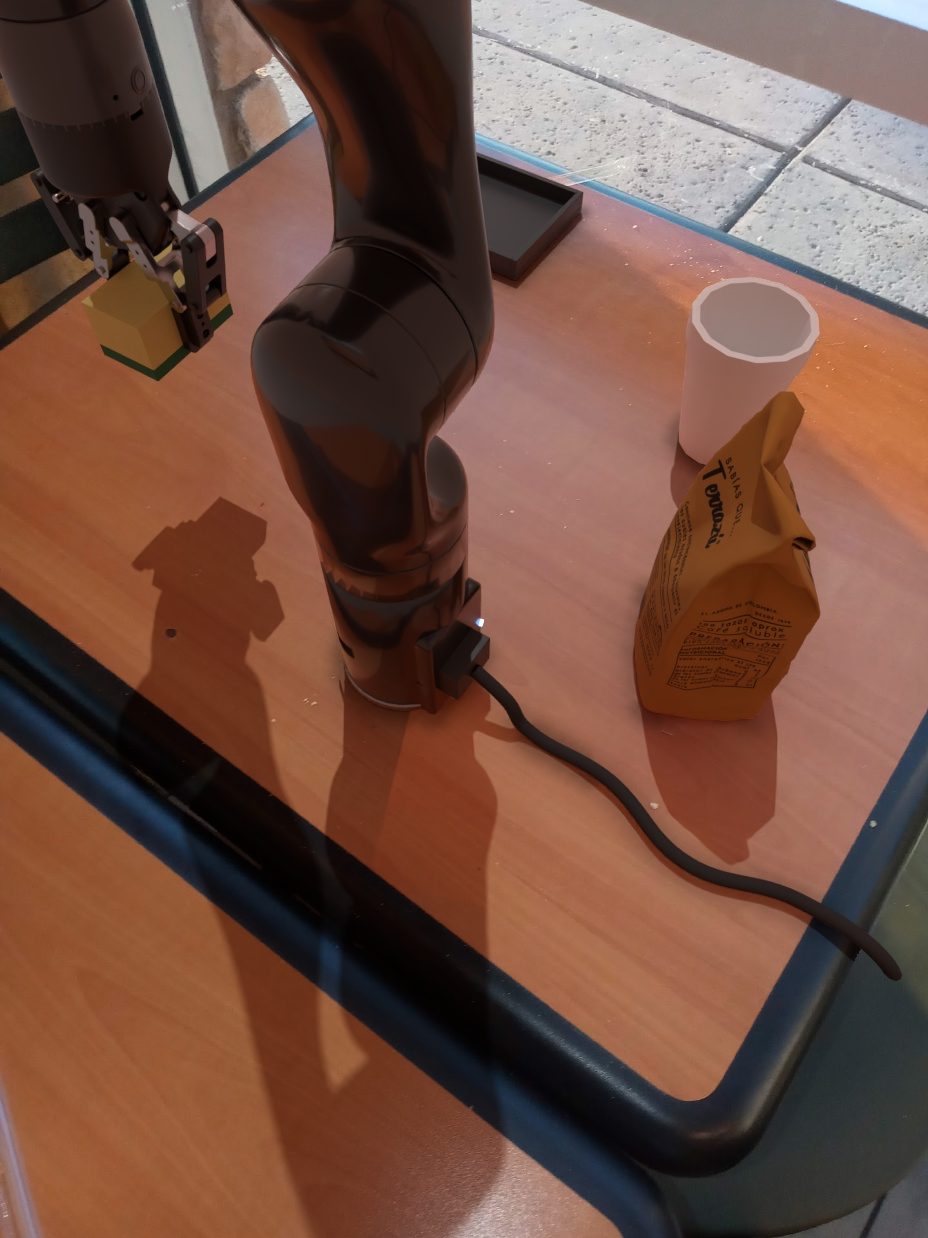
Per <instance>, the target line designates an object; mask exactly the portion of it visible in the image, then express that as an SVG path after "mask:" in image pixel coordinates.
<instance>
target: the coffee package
mask: <svg viewBox="0 0 928 1238" xmlns="http://www.w3.org/2000/svg"><path fill="white" fill-rule="evenodd" d="M805 411H806V409H805V408H804V406H803V405H802V403H801V402H800V401H799V399H798V397H797V395H796V394H795V392H794V391H792V390H791V391H787V392H781V391H780V392H779V393H778V394H776V395H775V396H774V397H773V398H772V399H771V400H770V401H769V402H768V403H767V404H766V405H765V406H764V408H763V409H762V410H761V411H760V412H758V413H756V414H755V415H754V416H753V417H752V418H751V419H750V420H749V421H748V422H747V423H746V424H744V425H743V426H742V428H741V429H740V430H739V431H738V432H737V434H736V435H735V436H734V437H733V438H732V439H731V440H730V441H729V442H727V443H726V444H725V445H724V446H723V447H722V448H720V449H719V450H718V451H717V452H716V453H715V454H714V456H713V457H712V458H711V460H710V461H709V462H708V463H707V464H706V465H704V467H703V468H702V469H701V470H699V471H698V473H697V474H696V477H695V479H694V480H693V482H692V483H691V484H690V486H689V488H688V490H687V492H686V495H685V496H684V497H683V499H682V500H681V502H680V504H679V506H678V508H677V510H676V512H675V514H674V516H673V518H672V520H671V522H670V524H669V526H668V527H667V529H666V530H665V533H664V535H663V536H662V539H661V542H660V545H659V546H658V547H659V548H658V550H657V553H656V556H655V559H654V561H653V565H652V567H651V568H652V569H651V571H650V576H649V577H648V578H649V579H648V581H647V585H646V589H645V590H644V592H643V595H642V598H641V602H640V606H639V610H638V616H637V619H636V623H635V625H634V637H633V648H634V661H635V669H636V675H637V676H636V677H637V685H638V690H639V695H640V696H639V697H640V699H641V704H642V706H643V707H644V708H645V709H646V710H648V711H650V712H652V713H655V714H662V715H671V716H676V717H680V718H685V719H689V720H700V721H710V720H712V721H714V720H715V721H721V722H723V721H725V722H727V721H728V722H730V721H731V722H732V721H739V720H751V719H754V718H756V717H757V716H758V714H759V713H760V711H761V709H762V707H763V706H764V704H765V703H766V701H767V700H768V699H769V698H770V697H771V696H772V695H773V692H774V690H775V689H776V688H777V687H778V685H780V683H781V682H782V680H783V679H784V678H785V677H786V676H787V675H788V674H789V671H790V667H791V664H792V662H793V661H794V660H795V659H796V657H797V655H798V653H799V651H800V650H801V648H802V646H803V644H804V642H805V640H806V639H807V636H808V635H809V634H810V633H811V632H812V630H813V628H814V627H815V626H816V624H817V622H818V621H819V619H820V617H821V608H820V607H821V606H820V602H819V597H818V593H817V589H816V585H815V580H814V577H813V573H812V566H811V560H810V554H809V552H812V551H813V550H814V549H815V548H816V547H817V541H816V537H815V535H814V533H813V532H812V531H811V529H810V528H809V526H808V525H807V523H806V521H805V520H804V519H803V517H802V515H801V514H802V513H801V510H800V506H799V503H798V500H797V495H796V491H795V487H794V483H793V481H792V478H791V475H790V473H789V470H788V468H787V466H786V465H785V463H784V461H785V460H786V458H787V455H788V454H789V452H790V451H791V447H792V444H793V442H794V438H795V435H796V433H797V431H798V429H799V428H800V425H801V423H802V420H803V418H804V415H805Z"/></svg>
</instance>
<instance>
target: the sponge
mask: <svg viewBox="0 0 928 1238" xmlns="http://www.w3.org/2000/svg"><path fill="white" fill-rule="evenodd" d="M171 249H172V243H171V244H170V246H169V247H167V248H166V249H165V250H164V251H162V252H161V253H160V254H159V255H157V256H155V257H154V259H155V260H156V262H158V261H159V260H161V259H162V258H163V257H164V256H166V255H167V254H168V253H169V252H170V251H171ZM173 278H174V281H175V282H176V284H177V286H178V288H180V287H181V286H182V285H183V284H185V279H184V276H183V274H182V272H181V270H180V269H179V270H178V271H177V272H176V273H175V274H174V276H173ZM230 299H231V298H230V296H229V292H228V291H227V292H226V293H225V294H224V295H223V296H222V297H221V298H219V299H217V300H216V301H215V302H214V303H213V304H212V305H211V306H209V307H208V308H207V310H208V313H209V317H210V320H211V323H212V327H213V330H214V332H215V331H216V330H218V328H220V327H221V326H222V325H223V324H224V323H226V322H227V321H228V320H229V319H230V318H231V317H232V316H233V315H234V310H233V307H232V303H231V300H230ZM81 305H82V308H83V310H84V312H85V315H86V317H87V319H88V321H89V323H90V326H91V328H92V331H93V332H94V335H95V337H96V339H97V342H98V343H99V346H100V348H101V351H102V353H103V355H104V356H106V357H108V358H109V359H112V360H114V361H116V362H118V363H120V364H122V365H124V366H126V367H128V368H130V369H131V370H134V371H136V372H138V373H140V374H142V375H144V376H146V377H148V378H149V379H152V380H154V381H156V382H160V381H161V380H162V379H163V378H164V377H165V376H166V375H168V374H169V373H170V372H171V371H172V370H174V369H175V367H176V366H177V365H179V364H180V363H181V362H182V361H183V360H184V359H185V358H187V357H188V356H189V355H190V354H191V353H192V352H191V351H188V350H186V349H185V348H184V346H183V343H182V340H181V337H180V334H179V331H178V328H177V325H176V322H175V319H174V316H173V313H172V311H171V308H172V306H171V305H170V303H169V301H168V300H167V298H166V296H165V295H164V293H163V291H162V290H161V288H160V286H159V285H158V283H157V282H155V281H149V280H148V279H147V278H146V276H145V275H144V273H143V271H142V270H141V268H140V266H139V265H138V263H137V261H136V260H135V258H133V259H132V260H131V263H129V264H128V265H127V266H126V267H124V268H123V269H122V270H120V271H119V272H118V273H117V274H115V275H114V276H113V277H112V278H110V279H109V280H108V281H107V280H106V281H105V282H104V283H103V284H101V286H99V287H98V288H97V289H95V290H94V291H92V293H90V294H89V295H88V296H87V297H85V298H84V299H83V300H82V301H81Z"/></svg>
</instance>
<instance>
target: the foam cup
mask: <svg viewBox="0 0 928 1238" xmlns="http://www.w3.org/2000/svg"><path fill="white" fill-rule="evenodd" d="M820 335H821V333H820V319H819V313H817V312H816V310H815V309H814V307H813V306H812V305H811V304H810V302H809V301H808V299H807V298H806V297H805V296H804V295H802V294H800V293H799V292H797V291H795V290H794V289H792V288H791V287H788V286H787V285H786V284H783V283H782V282H777V281H773V280H769V279H764V278H760V277H757V276H748V277H731V278H725V279H723V280H720V281H718V282H716V283H713V284H711V285H709V286H706V287H704V288H703V289H702V290H701V292H700V293H699V294H698V296H697V297H696V298H695V300H694V301H693V302H692V304H691V308H690V311H689V314H688V319H687V323H686V327H685V348H686V351H685V362H684V363H685V365H684V375H683V384H682V395H681V403H680V415H679V429H678V443H679V445H680V447H681V448H682V450H683V452H684V454H685V455H687V457H690V459H692V460H694V461H695V462H697V463H698V464H700V465H704V466H706V464H707V463H708V462H709V461H710V460H711V458H712V457H713V456H714V454H715V453H716V452H717V451H718V450H719V449H720V448H722V447H723V446H724V445H725V444H726V443H727V442H729V441H730V440H731V439H732V438H733V437H734V436H735V435H736V434H737V432H738V431H739V430H740V429H741V428H742V426H743V425H744V424H746V423H747V422H748V421H749V420H750V419H751V418H752V417H753V416H754V415H755V414H756V413H758V412H760V411H761V410H762V409H763V408H764V406H765V405H766V404H767V403H768V402H769V401H770V400H771V399H772V398H773V397H774V396H775V395H776V394H778V393H779V392H780V391H781V392H788V390H789V388H790V387H791V385H792V384H793V382H794V381H795V379H796V378H797V376H799V375H800V373H801V372H802V371H803V369H804V368H805V366H806V365H807V363H808V362H809V360H810V359H811V356H812V354H813V351H814V349H815V346H816V344H817V342H818V339H819V337H820Z"/></svg>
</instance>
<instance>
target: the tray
mask: <svg viewBox="0 0 928 1238" xmlns="http://www.w3.org/2000/svg"><path fill="white" fill-rule="evenodd" d="M476 155H477V165H478V174H479V183H480V190H481V198H482V206H483V213H484V221H485V229H486V236H487V244H488V252H489V260H490V267H491V272H493V273H495V274H497V275H500V276H503V277H505V278H508V279H510V280H513V281H514V282H516V281H517V280H518V279H519V278H520V277H521V276H522V275H523V274H524V273H525V272H526V271H527V269H529V267H530V266H532V264H533V263H535V261H536V260H537V259H538V258H539V257H540V256H541V255H542V254H543V253H544V252H545V251H546V250H547V248H549V247H550V246H551V244H552V243H553V242H554V241H555V240H556V239H557V238H558V237H559V236H560V235H561V234H562V233H563V232H564V231H565V230H566V229H567V228H568V226H570V225H571V224H572V222H573V221H574V220H575V219H576V218H577V217H578V216H579V215H580V214H581V213H582V208H583V201H584V193H585V192H584V191H582V190H579V189H577V188H574V187H571V186H568V185H566V184H564V183H561V182H558V181H555V180H553V179H550V178H548V177H545V176H542V175H540V174H537V173H535V172H531V171H528V170H526V169H523V168H521V167H517V166H515V165H513V164H509V163H507V162H505V161H501V160H499V159H496V158H494V157H491V156H488V155H485V154H483V153H482V152H481V153H480V152H478V151H476Z"/></svg>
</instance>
